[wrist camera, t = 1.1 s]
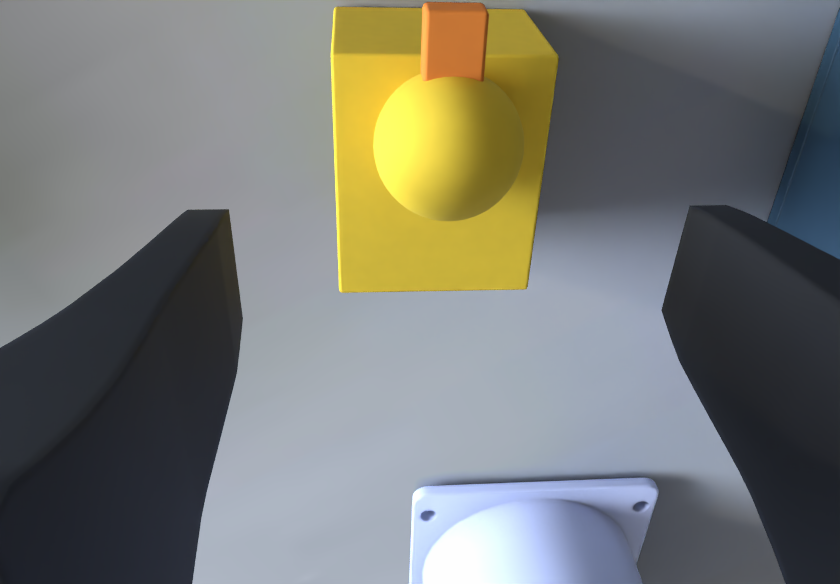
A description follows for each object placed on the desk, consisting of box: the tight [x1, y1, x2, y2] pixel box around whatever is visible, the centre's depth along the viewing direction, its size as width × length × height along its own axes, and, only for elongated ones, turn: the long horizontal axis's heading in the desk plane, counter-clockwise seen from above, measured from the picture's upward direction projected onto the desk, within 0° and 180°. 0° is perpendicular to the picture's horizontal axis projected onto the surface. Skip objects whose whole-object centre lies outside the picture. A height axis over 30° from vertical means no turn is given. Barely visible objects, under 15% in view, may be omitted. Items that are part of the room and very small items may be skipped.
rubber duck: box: [331, 2, 559, 293], centre depth 14 cm, size 6×4×5 cm, turn 178°
